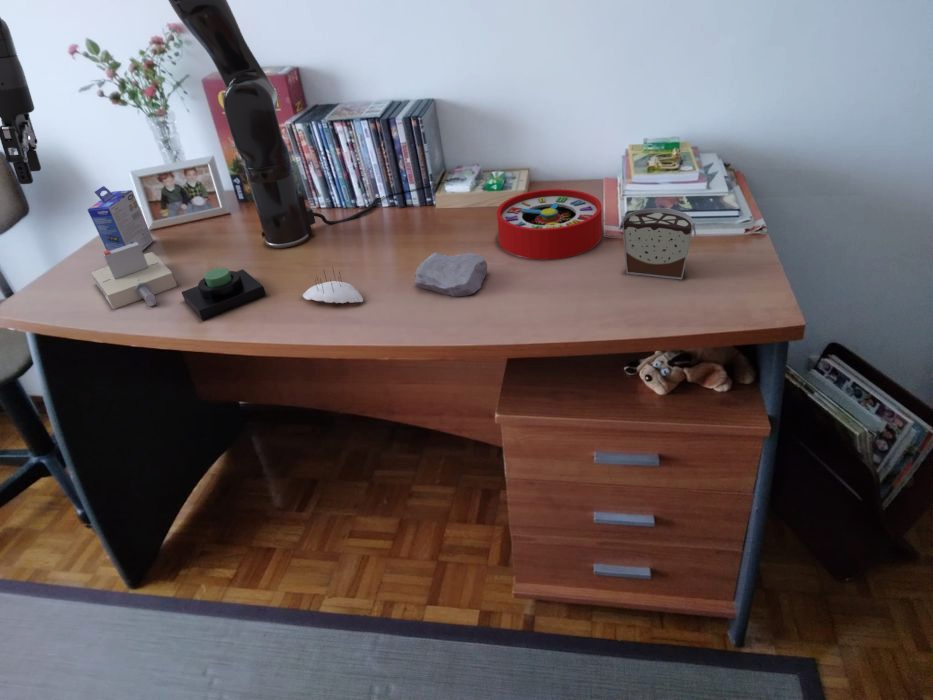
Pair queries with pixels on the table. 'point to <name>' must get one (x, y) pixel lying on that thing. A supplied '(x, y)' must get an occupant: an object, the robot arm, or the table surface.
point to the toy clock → (549, 223)
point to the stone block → (452, 273)
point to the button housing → (223, 295)
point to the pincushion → (333, 292)
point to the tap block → (134, 282)
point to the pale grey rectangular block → (125, 260)
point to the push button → (217, 277)
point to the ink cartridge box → (119, 220)
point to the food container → (657, 242)
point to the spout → (145, 293)
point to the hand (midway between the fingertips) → (31, 176)
